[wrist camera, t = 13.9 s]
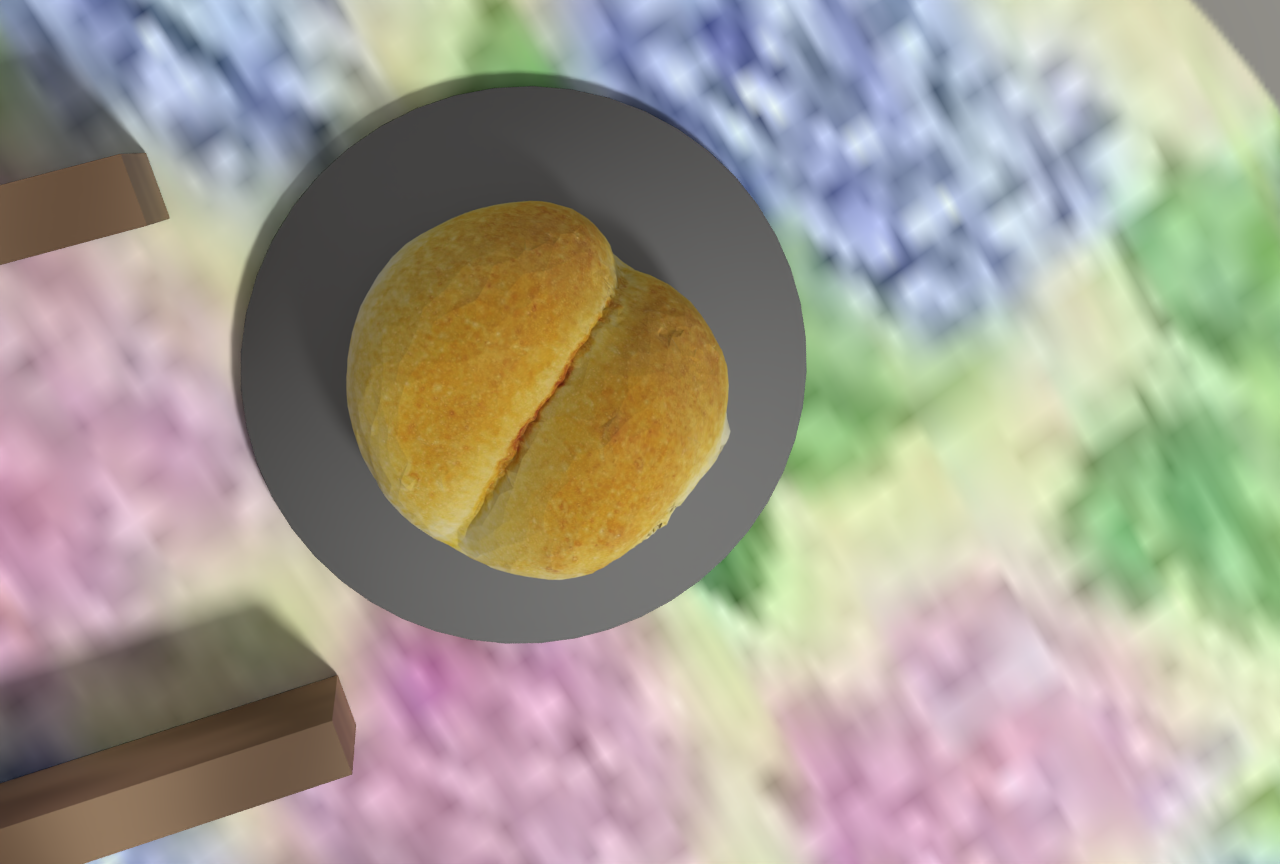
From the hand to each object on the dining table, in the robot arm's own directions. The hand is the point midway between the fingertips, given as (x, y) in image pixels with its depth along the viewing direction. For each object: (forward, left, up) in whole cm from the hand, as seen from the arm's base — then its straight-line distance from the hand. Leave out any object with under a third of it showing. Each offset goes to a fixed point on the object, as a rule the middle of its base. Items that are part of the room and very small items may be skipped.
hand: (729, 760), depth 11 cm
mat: (0, 0, -19) cm, 19 cm away
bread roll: (0, 0, -19) cm, 19 cm away
